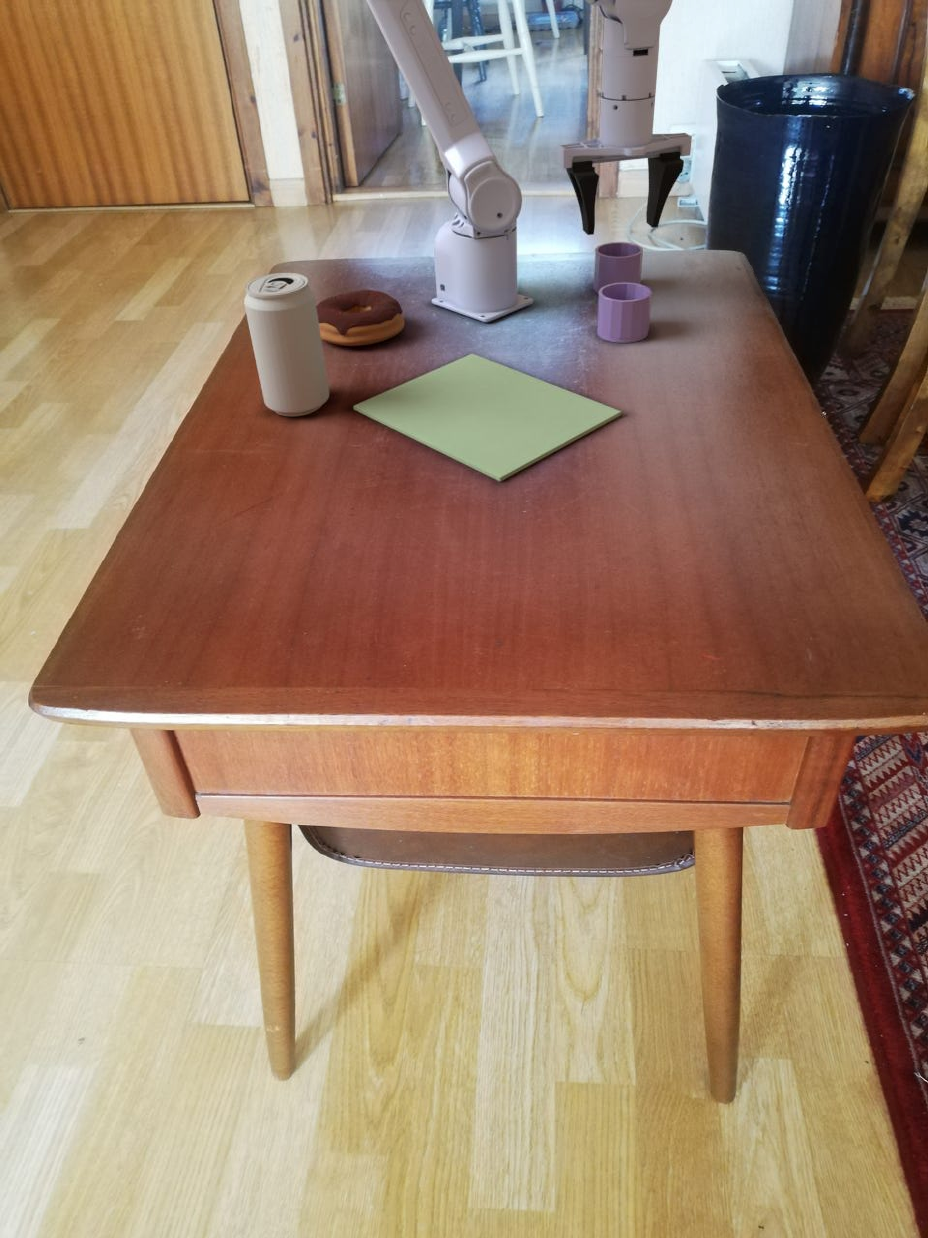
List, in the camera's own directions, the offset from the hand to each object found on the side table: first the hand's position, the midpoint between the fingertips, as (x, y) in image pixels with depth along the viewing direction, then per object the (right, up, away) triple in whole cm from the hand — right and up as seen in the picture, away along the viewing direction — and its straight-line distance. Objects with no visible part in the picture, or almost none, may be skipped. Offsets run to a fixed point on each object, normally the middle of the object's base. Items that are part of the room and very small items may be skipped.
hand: (620, 228), depth 107 cm
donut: (-30, -13, -3) cm, 33 cm away
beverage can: (-34, -24, -16) cm, 45 cm away
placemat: (-16, -25, -19) cm, 35 cm away
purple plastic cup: (0, -5, +4) cm, 7 cm away
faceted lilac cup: (-1, -14, -6) cm, 15 cm away
